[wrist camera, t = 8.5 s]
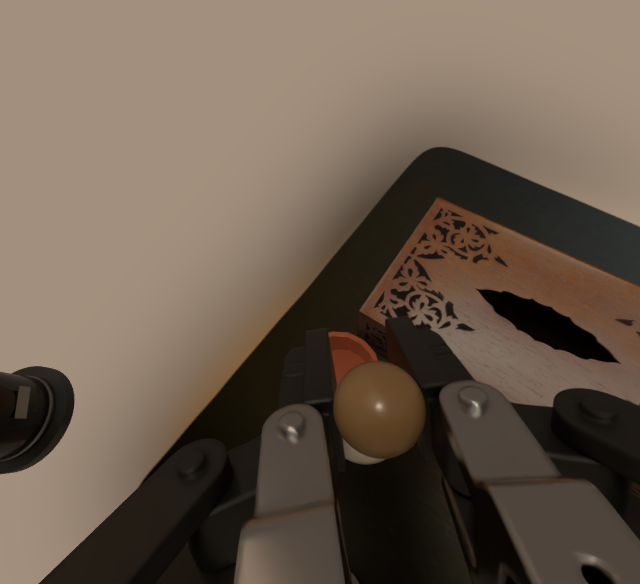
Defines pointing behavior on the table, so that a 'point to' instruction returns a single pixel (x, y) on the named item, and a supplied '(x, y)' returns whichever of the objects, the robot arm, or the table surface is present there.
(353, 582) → the container
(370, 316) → the tissue box cover
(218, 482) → the robot arm
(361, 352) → the brush holder
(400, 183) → the table surface
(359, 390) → the tan piece
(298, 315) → the table surface
